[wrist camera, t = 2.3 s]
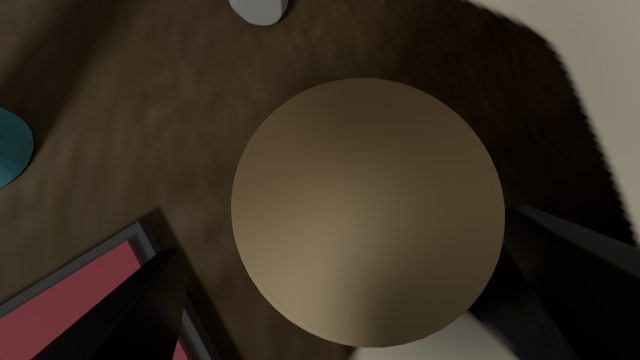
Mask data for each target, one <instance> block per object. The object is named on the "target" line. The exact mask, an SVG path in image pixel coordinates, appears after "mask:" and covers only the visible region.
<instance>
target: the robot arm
mask: <svg viewBox="0 0 640 360" xmlns="http://www.w3.org/2000/svg"><path fill="white" fill-rule="evenodd" d="M503 239H504V241H505V243H506V245H507V247H508V249H509V251H510V252H511V254H512V256H513V258H514V260H515V262H516V263H517V265H518V267H519V269H520V271H521V273H522V275H523V276H524V278H525V280H526V282H527V283H528V285H529V287H530V288H531V290H532V291H533V293H534V294H535V296H536V297H537V299H538V300H539V302H540V303H541V305H542V306H543V308H544V309H545V311H546V312H547V314H548V315H549V317H550V318H551V319H552V321H553V322H554V324H555V325H556V327H557V328H558V330H559V331H560V333H561V334H562V336H563V337H564V339H565V340H566V341H567V343H568V344H569V346H570V347H571V349H572V350H573V352H574V353H575V355H576V356H577V358H578V359H579V360H640V249H637V248H635V247H632V246H630V245H627V244H625V243H622V242H620V241H617V240H614V239H612V238H609V237H607V236H604V235H602V234H599V233H597V232H594V231H591V230H589V229H586V228H584V227H581V226H579V225H576V224H574V223H571V222H568V221H566V220H563V219H561V218H558V217H556V216H553V215H551V214H548V213H545V212H543V211H540V210H538V209H535V208H533V207H530V206H528V205H514V206H510V207H508V208H507V210H506V213H505V227H504V236H503ZM187 284H188V269H187V267H186V264H185V262H184V259H183V257H182V255H181V252H180V250H179V249H177V248H170V249H163V250H160V251H159V252H158V253H157V254H155V255H154V256H153V257H152V258H151V259H150V260H148V261H147V262H146V263H145V264H144V265H142V266H141V267H140V268H139V269H138V270H136V271H135V272H134V273H133V274H132V275H130V276H129V277H128V278H127V279H126V280H124V281H123V282H122V283H121V284H120V285H119V286H117V287H116V288H115V289H114V290H113V291H111V292H110V293H109V294H108V295H107V296H105V297H104V298H103V299H102V300H101V301H99V302H98V303H97V304H96V305H95V306H94V307H92V308H91V309H90V310H89V311H88V312H86V313H85V314H84V315H83V316H82V317H80V318H79V319H78V320H77V321H76V322H74V323H73V324H72V325H71V326H70V327H69V328H67V329H66V330H65V331H64V332H63V333H61V334H60V335H59V336H58V337H57V338H55V339H54V340H53V341H52V342H51V343H49V344H48V345H47V346H46V347H45V348H43V349H42V350H41V351H40V352H39V353H38V354H36V355H35V356H34V357H33V358H32V359H30V360H173V356H174V352H175V349H176V345H177V341H178V337H179V333H180V328H181V322H182V316H183V310H184V303H185V297H186V290H187Z"/></svg>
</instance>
